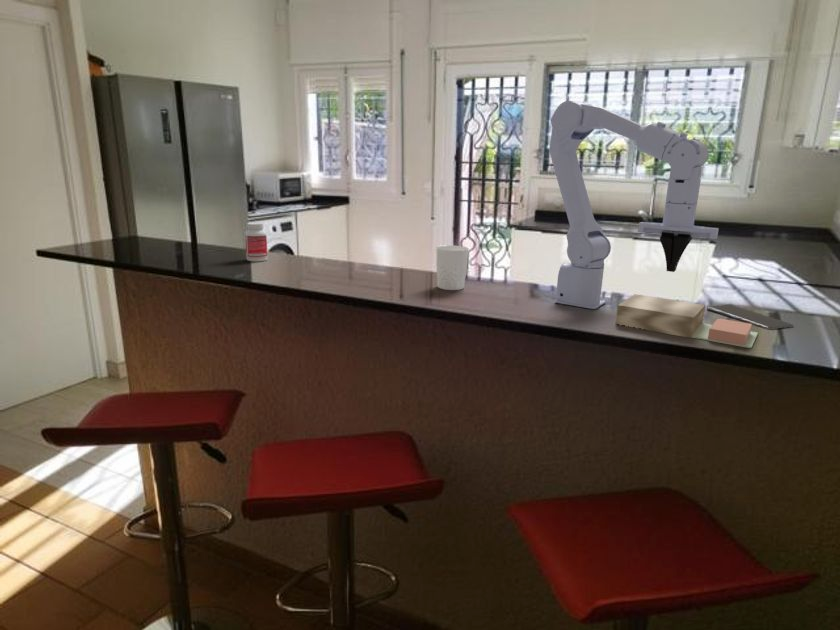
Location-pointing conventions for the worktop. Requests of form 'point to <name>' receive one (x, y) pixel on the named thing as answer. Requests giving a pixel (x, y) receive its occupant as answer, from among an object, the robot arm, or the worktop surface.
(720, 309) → the smartphone
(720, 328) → the pink rubber eraser
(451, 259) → the white cup
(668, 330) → the wooden block
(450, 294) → the worktop surface
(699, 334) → the mat
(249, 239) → the pill bottle
